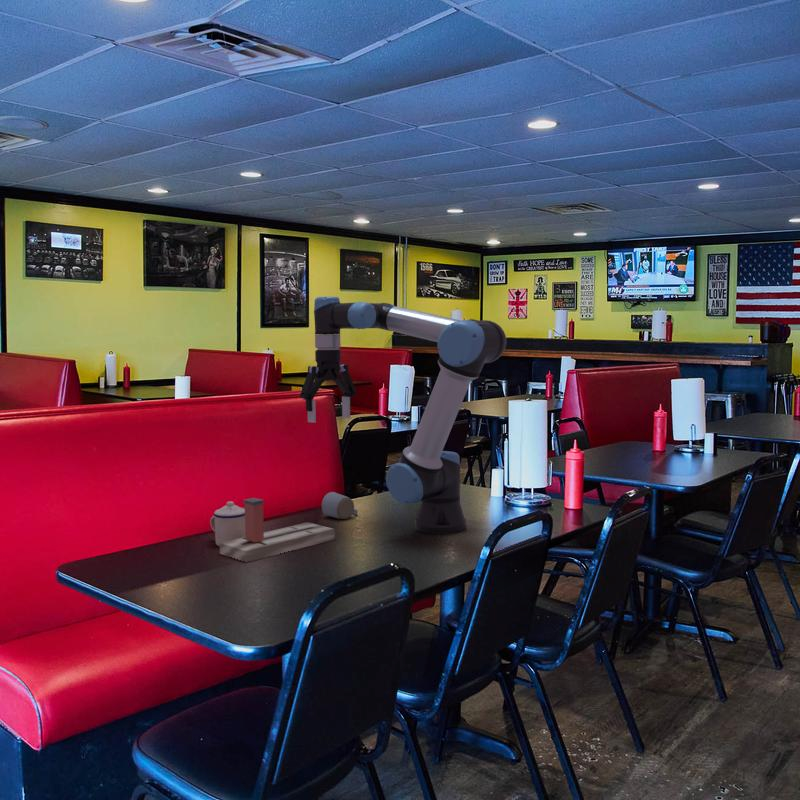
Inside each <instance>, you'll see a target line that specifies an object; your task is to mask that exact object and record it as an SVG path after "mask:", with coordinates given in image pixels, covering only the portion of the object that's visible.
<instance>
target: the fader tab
mask: <svg viewBox="0 0 800 800" xmlns="http://www.w3.org/2000/svg"><path fill="white" fill-rule="evenodd" d="M242 502H243V504H244V509H245V537H246V540H248V541H251V542H258V541H263V540H264V532H265V530H264V504H265V501H264V499H261V498H256V497H252V498H247V499H243V501H242Z"/></svg>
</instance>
